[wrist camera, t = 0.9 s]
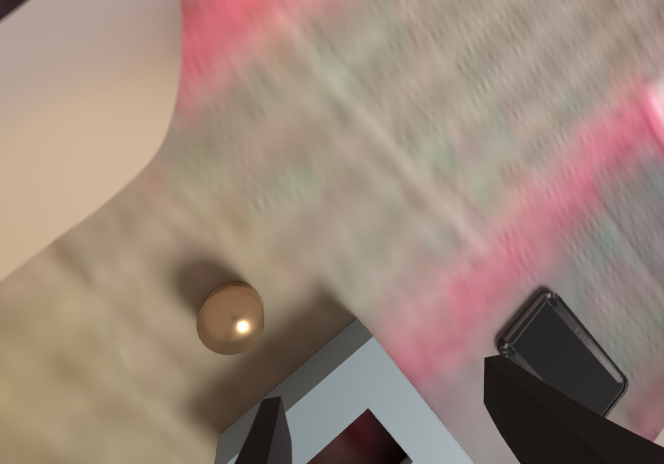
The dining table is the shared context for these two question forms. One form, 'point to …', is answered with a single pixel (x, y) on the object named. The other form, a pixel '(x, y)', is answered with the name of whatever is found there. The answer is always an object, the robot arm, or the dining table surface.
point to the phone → (563, 354)
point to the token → (231, 318)
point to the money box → (350, 404)
